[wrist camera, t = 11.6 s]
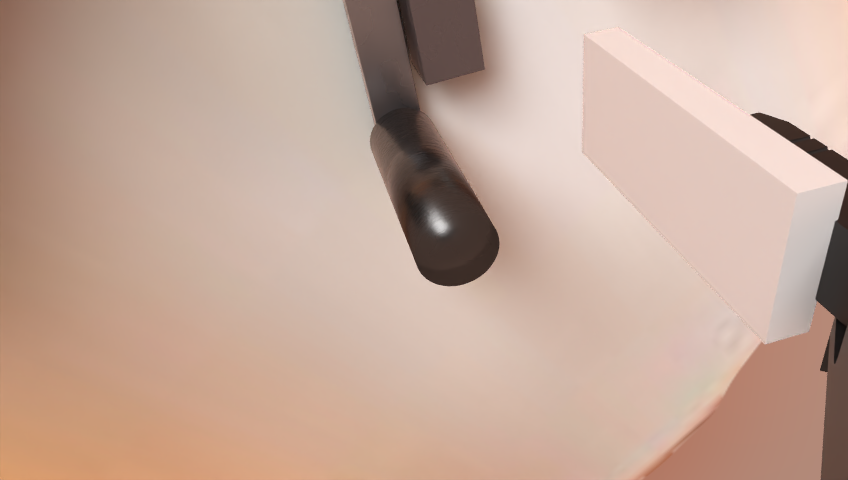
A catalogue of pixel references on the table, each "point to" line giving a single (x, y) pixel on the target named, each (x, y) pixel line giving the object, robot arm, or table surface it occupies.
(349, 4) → the lever
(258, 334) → the table surface
